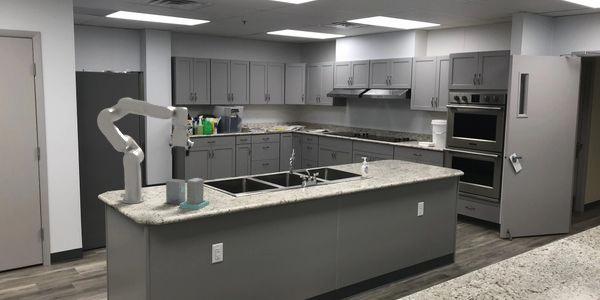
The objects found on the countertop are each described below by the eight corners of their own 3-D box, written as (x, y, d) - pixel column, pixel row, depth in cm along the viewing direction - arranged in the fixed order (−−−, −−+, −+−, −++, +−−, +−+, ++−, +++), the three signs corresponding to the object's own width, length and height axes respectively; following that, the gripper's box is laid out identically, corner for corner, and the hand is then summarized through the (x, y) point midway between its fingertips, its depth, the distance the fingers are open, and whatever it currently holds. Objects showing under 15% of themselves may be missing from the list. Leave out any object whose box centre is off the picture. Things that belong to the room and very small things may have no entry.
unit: (164, 203, 294) (163, 181, 292) (172, 200, 302) (171, 178, 301) (180, 205, 291) (179, 182, 289) (187, 202, 299) (187, 179, 297)
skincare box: (195, 202, 296) (195, 177, 294) (204, 204, 292) (204, 178, 290) (185, 205, 289) (185, 179, 287) (194, 207, 285) (194, 181, 283)
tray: (179, 207, 286) (179, 203, 286) (191, 202, 299) (191, 198, 299) (198, 209, 283) (198, 205, 282) (209, 204, 295) (209, 200, 295)
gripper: (196, 128, 295) (195, 156, 297) (172, 126, 300) (171, 153, 303) (190, 129, 288) (189, 157, 290) (165, 126, 293) (164, 154, 296)
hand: (180, 155), depth 296 cm, fingers open, 9 cm apart
